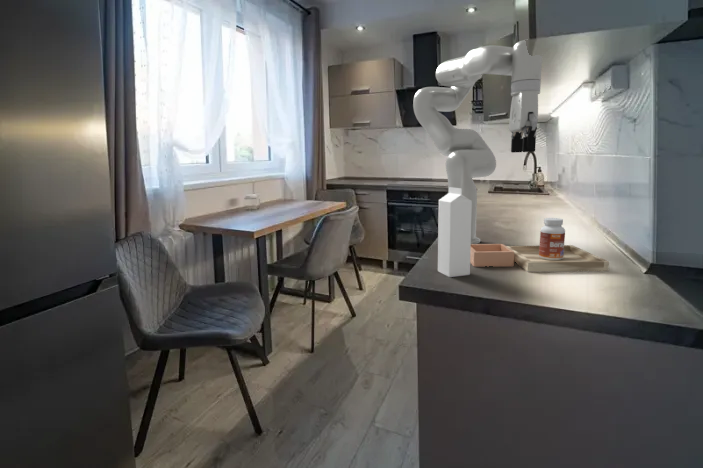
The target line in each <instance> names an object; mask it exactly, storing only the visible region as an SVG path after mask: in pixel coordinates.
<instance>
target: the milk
mask: <svg viewBox="0 0 703 468" xmlns="http://www.w3.org/2000/svg"><path fill="white" fill-rule="evenodd" d="M437 212H438V216H437V218H438V219H437V220H438V221H437V224H438V227H437V231H438V232H437V233H438V235H437V272H439V273H440V274H442V275H444V276H446V277H448V278H452V277H453V278H454V277H462V276H470V275H471V263H470V250H471V213H472V201H471V200H469V199H468V198H466V197H465V196H463V195H462V189H461V188H453V187H449V193H448V192H447V193H446V194H445V195H444V196H442V197H441V198H439V199H438V211H437Z"/></svg>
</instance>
